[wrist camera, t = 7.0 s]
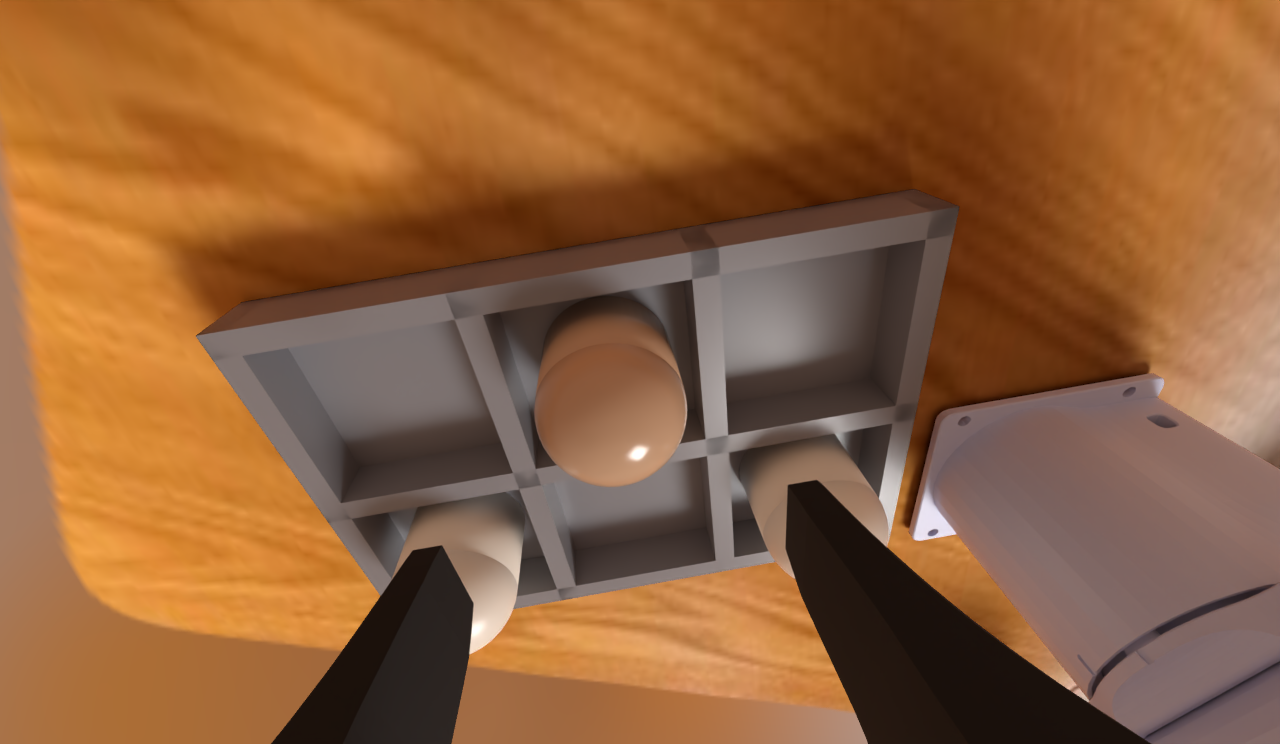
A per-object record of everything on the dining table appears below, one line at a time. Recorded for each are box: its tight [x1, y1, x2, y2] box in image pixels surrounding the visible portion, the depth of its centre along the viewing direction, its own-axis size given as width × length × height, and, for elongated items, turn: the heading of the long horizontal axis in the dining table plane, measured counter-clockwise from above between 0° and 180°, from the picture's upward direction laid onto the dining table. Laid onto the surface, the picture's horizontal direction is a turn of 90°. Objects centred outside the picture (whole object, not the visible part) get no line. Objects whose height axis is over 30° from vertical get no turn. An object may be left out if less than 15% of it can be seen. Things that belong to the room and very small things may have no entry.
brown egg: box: [534, 296, 687, 487], centre depth 15 cm, size 4×4×5 cm
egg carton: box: [196, 189, 959, 654], centre depth 17 cm, size 21×14×6 cm
